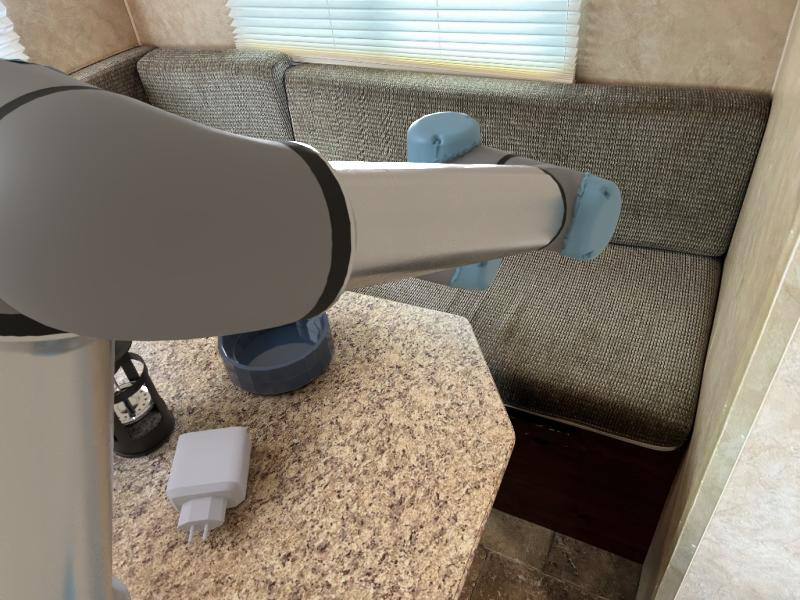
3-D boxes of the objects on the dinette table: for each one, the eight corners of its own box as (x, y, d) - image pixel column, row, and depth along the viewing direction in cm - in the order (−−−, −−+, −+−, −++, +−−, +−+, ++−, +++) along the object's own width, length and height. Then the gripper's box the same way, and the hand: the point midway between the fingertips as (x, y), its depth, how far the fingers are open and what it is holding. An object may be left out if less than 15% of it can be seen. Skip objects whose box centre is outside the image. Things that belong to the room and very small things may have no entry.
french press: (186, 403, 93) (129, 284, 78) (171, 454, 85) (106, 333, 71) (110, 411, 93) (39, 294, 78) (89, 463, 85) (7, 344, 71)
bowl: (273, 416, 89) (263, 388, 85) (206, 365, 99) (195, 338, 95) (356, 349, 98) (351, 321, 95) (288, 309, 108) (281, 282, 104)
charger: (165, 557, 73) (187, 455, 85) (241, 546, 73) (253, 446, 85) (151, 536, 70) (177, 433, 82) (231, 525, 70) (244, 424, 82)
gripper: (346, 299, 71) (194, 260, 80) (405, 230, 81) (264, 203, 91) (336, 245, 66) (175, 211, 75) (400, 179, 77) (252, 156, 86)
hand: (224, 207), depth 83 cm, fingers closed on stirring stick, 3 cm apart
